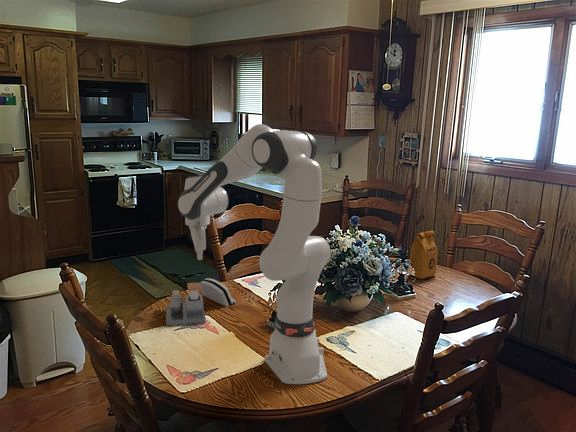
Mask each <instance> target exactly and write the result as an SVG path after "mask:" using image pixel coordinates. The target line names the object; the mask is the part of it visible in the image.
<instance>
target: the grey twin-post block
mask: <svg viewBox="0 0 576 432" xmlns="http://www.w3.org/2000/svg"><path fill="white" fill-rule="evenodd" d="M198 298H199V300H196V301H190V295H186V296H185V303H184V302H183V300H184V299H183V295H181V294H180V290H179V289H178V290H177V289H176V290H172V296H170V305H165V322H166V327H174V326H173V325H177V326H184V325H183V324H188V325H198V324H207V320H206V319H207V318H206V313H205V309H204V298H203V294H198ZM197 323H198V324H197Z"/></svg>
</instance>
